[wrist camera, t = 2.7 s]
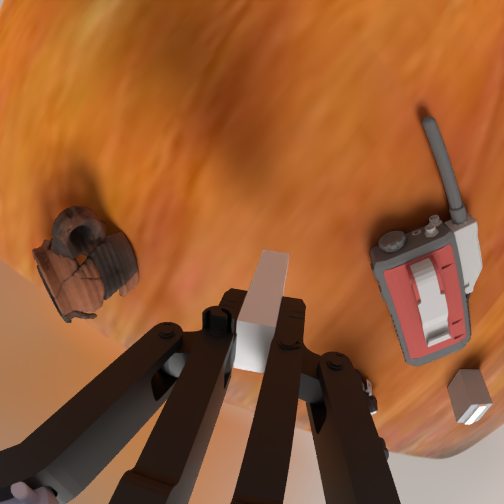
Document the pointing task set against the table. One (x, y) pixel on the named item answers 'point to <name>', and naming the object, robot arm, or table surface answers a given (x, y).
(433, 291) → the walkie-talkie
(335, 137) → the table surface
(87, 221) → the pottery mug
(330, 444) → the robot arm
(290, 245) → the table surface
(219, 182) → the table surface
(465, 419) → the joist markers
